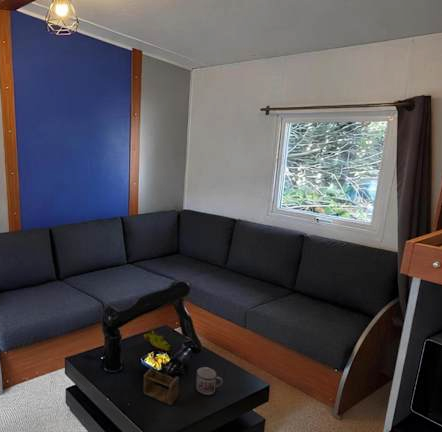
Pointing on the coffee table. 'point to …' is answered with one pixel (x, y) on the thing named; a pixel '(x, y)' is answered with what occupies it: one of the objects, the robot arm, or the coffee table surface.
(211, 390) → the teacup with lid
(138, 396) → the coffee table surface
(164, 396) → the wooden caddy
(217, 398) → the coffee table surface
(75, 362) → the coffee table surface
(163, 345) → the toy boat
